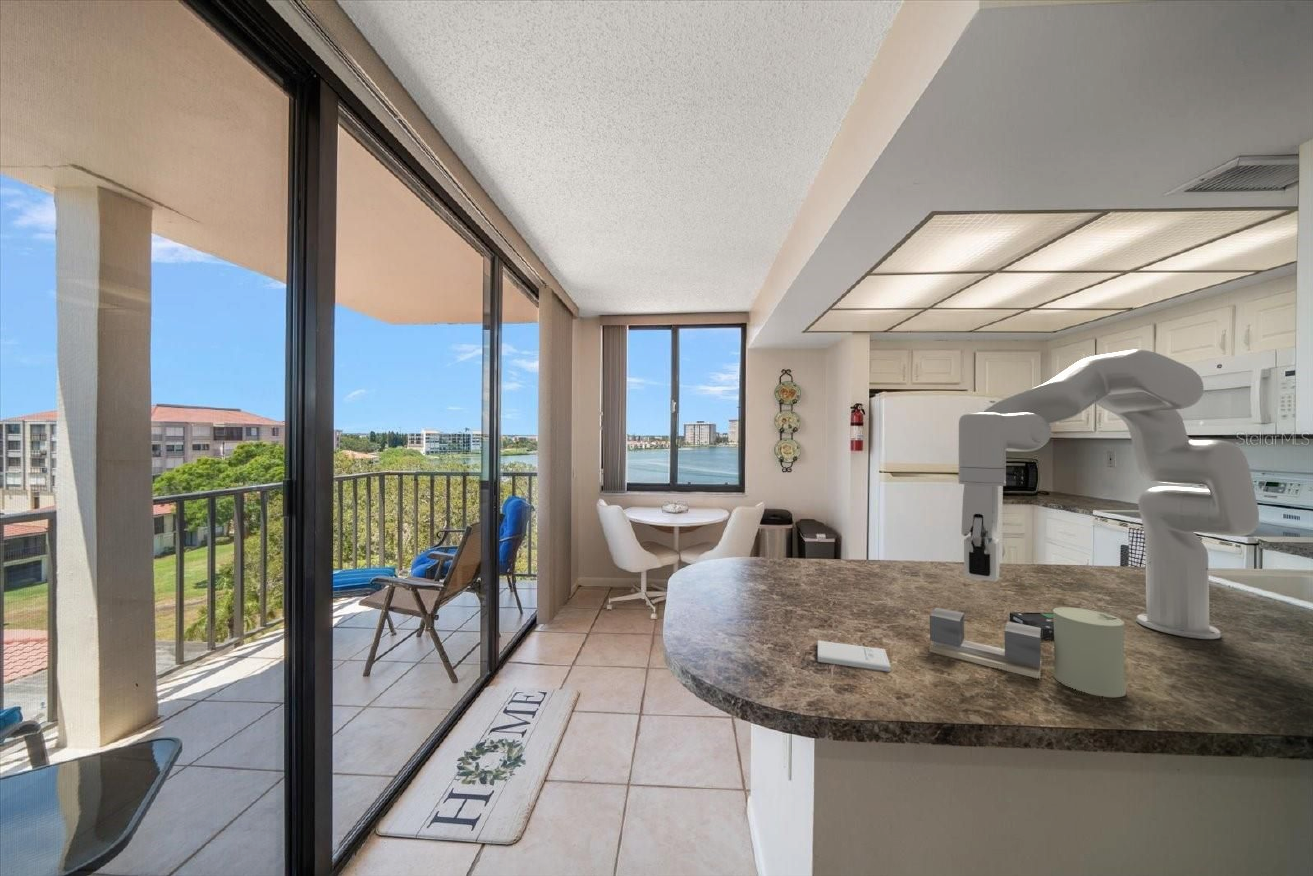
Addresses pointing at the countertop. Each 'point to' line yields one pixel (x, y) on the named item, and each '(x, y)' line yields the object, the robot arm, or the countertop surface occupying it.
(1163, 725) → the countertop surface
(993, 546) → the block
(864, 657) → the external hard drive
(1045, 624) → the disk drive
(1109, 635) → the can
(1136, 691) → the countertop surface
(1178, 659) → the countertop surface
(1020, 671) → the board
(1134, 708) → the countertop surface
